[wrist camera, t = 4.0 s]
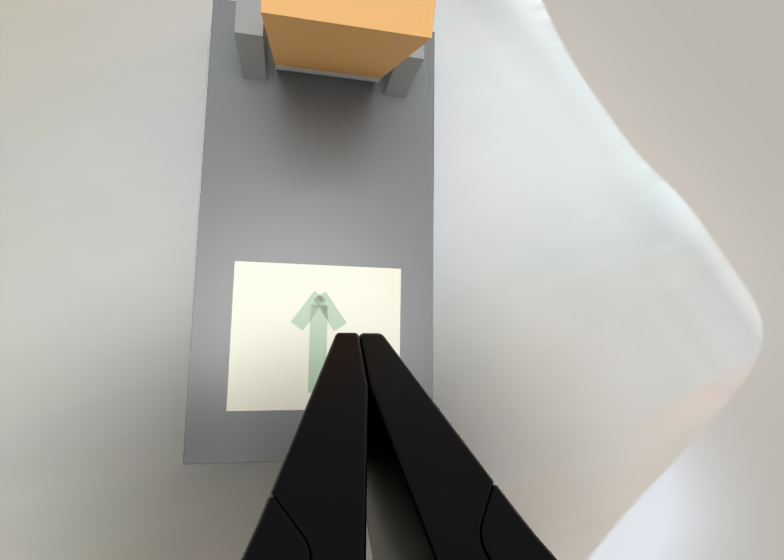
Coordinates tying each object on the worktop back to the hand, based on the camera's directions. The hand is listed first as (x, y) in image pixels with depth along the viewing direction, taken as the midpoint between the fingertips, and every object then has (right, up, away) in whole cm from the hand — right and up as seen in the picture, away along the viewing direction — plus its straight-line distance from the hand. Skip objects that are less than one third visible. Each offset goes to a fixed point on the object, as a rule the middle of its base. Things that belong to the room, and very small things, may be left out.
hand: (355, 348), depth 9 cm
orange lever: (-2, +11, +12) cm, 17 cm away
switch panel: (-3, +3, +14) cm, 14 cm away
